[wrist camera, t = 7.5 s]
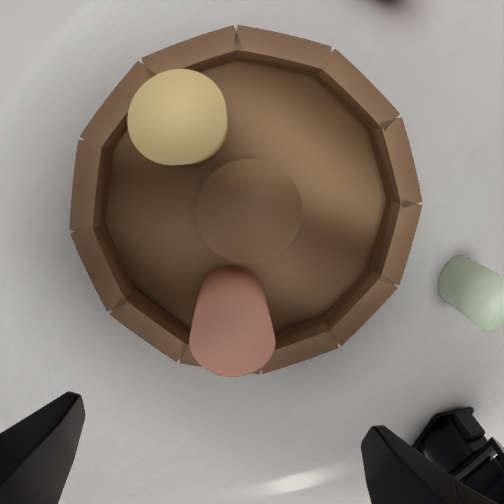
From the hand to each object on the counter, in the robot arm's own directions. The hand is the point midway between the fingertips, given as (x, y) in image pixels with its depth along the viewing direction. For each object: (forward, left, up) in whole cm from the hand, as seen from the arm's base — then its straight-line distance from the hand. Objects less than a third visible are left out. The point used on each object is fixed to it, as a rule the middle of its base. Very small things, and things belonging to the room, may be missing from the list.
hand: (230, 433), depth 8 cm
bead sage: (+3, -16, -11) cm, 20 cm away
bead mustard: (+8, +3, -10) cm, 13 cm away
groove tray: (+5, 0, -11) cm, 12 cm away
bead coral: (0, 0, -10) cm, 10 cm away
